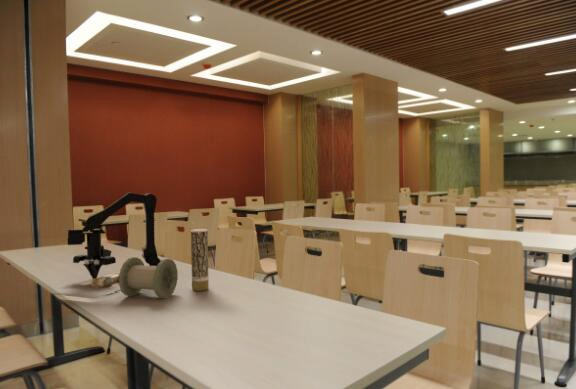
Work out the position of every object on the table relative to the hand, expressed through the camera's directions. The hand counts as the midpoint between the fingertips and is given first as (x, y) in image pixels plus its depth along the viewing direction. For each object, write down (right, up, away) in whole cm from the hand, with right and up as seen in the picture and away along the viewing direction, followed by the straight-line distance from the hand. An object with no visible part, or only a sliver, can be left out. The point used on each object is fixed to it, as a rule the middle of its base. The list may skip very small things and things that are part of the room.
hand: (94, 279), depth 188 cm
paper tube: (+48, -3, -9) cm, 49 cm away
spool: (+30, -3, -18) cm, 35 cm away
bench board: (+4, -3, -1) cm, 5 cm away
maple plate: (+6, -1, -2) cm, 7 cm away
